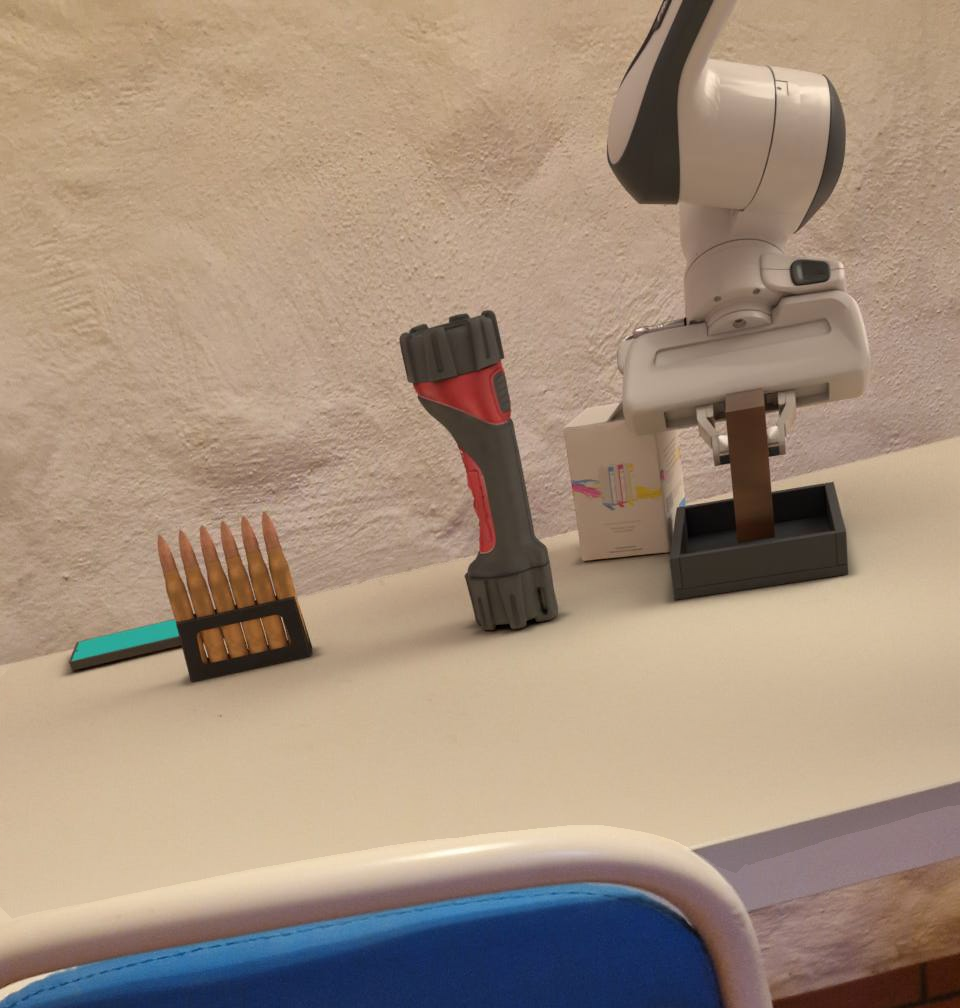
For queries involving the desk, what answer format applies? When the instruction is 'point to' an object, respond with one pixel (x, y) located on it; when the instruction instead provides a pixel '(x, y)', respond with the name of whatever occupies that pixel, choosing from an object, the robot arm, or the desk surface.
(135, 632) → the smartphone
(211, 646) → the ammunition clip
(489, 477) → the flashlight
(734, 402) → the walnut block
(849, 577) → the desk surface
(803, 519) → the dark gray tray
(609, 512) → the ink box
